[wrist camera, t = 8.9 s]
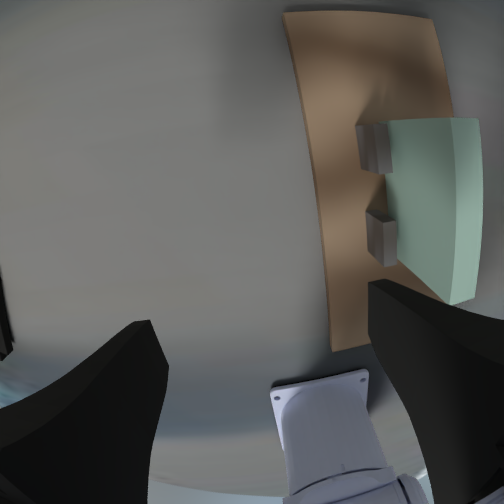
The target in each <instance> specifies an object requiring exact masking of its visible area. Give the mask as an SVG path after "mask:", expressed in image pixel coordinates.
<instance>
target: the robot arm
mask: <svg viewBox="0 0 504 504" xmlns="http://www.w3.org/2000/svg"><path fill="white" fill-rule="evenodd" d="M368 335H369V338H370V340H371V343H372V346H373V348H374V351H375V353H376V355H377V358H378V359H379V361H380V363H381V365H382V367H383V368H384V370H385V372H386V374H387V375H388V377H389V379H390V381H391V382H392V384H393V386H394V388H395V390H396V391H397V393H398V395H399V397H400V399H401V400H402V402H403V404H404V406H405V408H406V410H407V412H408V414H409V417H410V420H411V422H412V425H413V428H414V430H415V433H416V436H417V438H418V442H419V445H420V448H421V451H422V454H423V457H424V460H425V464H426V468H427V472H428V476H429V480H430V484H431V488H432V493H433V498H434V504H504V320H500V319H496V318H491V317H487V316H483V315H480V314H476V313H472V312H469V311H466V310H463V309H460V308H457V307H454V306H452V305H449V304H446V303H443V302H441V301H438V300H436V299H434V298H431V297H429V296H426V295H424V294H422V293H420V292H417V291H415V290H413V289H410V288H408V287H406V286H404V285H401V284H399V283H396V282H394V281H391V280H388V279H385V278H384V279H380V280H375V281H371V282H368ZM168 371H169V365H168V363H167V360H166V358H165V356H164V353H163V351H162V348H161V346H160V344H159V341H158V339H157V336H156V334H155V331H154V329H153V326H152V324H151V321H150V320H143V321H134V322H133V323H131V324H129V325H128V326H126V327H125V328H124V329H122V330H121V331H120V332H119V333H117V334H116V335H115V336H114V337H113V338H111V339H110V340H109V341H108V342H106V343H105V344H104V345H103V346H102V347H100V348H99V349H98V350H97V351H96V352H94V353H93V354H92V355H91V356H89V357H88V358H87V359H85V360H84V361H83V362H82V363H80V364H79V365H78V366H76V367H75V368H74V369H72V370H71V371H70V372H68V373H67V374H65V375H64V376H63V377H61V378H60V379H58V380H56V381H55V382H53V383H52V384H50V385H49V386H47V387H45V388H43V389H42V390H40V391H38V392H36V393H34V394H32V395H30V396H28V397H26V398H24V399H22V400H20V401H18V402H16V403H13V404H11V405H9V406H6V407H3V408H1V409H0V504H147V496H148V493H147V492H148V476H149V466H150V457H151V450H152V445H153V440H154V437H155V433H156V429H157V425H158V421H159V417H160V413H161V410H162V406H163V402H164V398H165V394H166V389H167V381H168ZM362 378H363V379H362ZM368 380H369V372H368V370H367V369H360V370H356V371H352V372H348V373H344V374H340V375H335V376H331V377H326V378H322V379H317V380H312V381H307V382H302V383H296V384H291V385H285V386H279V387H274V388H272V389H271V390H270V397H271V401H272V405H273V410H274V414H275V419H276V423H277V427H278V432H279V436H280V440H281V444H282V449H283V450H284V453H285V462H286V470H287V479H288V488H289V497H285V498H283V504H429V503H428V501H427V498H426V495H425V493H424V491H423V489H422V487H421V485H420V483H419V482H418V480H417V479H416V478H414V477H412V476H409V475H407V474H402V475H399V476H397V477H396V474H395V472H394V469H393V466H389V467H388V464H387V462H386V459H385V456H384V454H383V451H382V448H381V445H380V443H379V440H378V438H377V435H376V432H375V430H374V427H373V424H372V422H371V419H370V417H369V414H368V412H367V409H366V403H367V392H368ZM276 396H279V397H276Z"/></svg>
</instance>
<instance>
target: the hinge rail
mask: <svg viewBox="0 0 504 504" xmlns="http://www.w3.org/2000/svg"><path fill="white" fill-rule="evenodd" d="M282 20H283V24H284V28H285V32H286V37H287V41H288V45H289V50H290V54H291V58H292V63H293V68H294V72H295V77H296V82H297V87H298V92H299V97H300V102H301V107H302V113H303V118H304V124H305V129H306V135H307V141H308V147H309V153H310V160H311V166H312V173H313V179H314V186H315V194H316V201H317V209H318V216H319V225H320V233H321V242H322V251H323V261H324V271H325V282H326V293H327V306H328V320H329V335H330V347H331V349H332V352H336V351H340V350H345V349H349V348H353V347H357V346H361V345H365V344H369V343H371V340H370V338H369V335H368V282H371V281H375V280H380V279H384V278H385V279H388V280H391V281H394V282H396V283H399V284H401V285H404V286H406V287H408V288H410V289H413V290H415V291H417V292H420V293H422V294H424V295H426V296H429V297H431V298H434V299H436V300H438V301H441V302H443V303H445V302H444V301H443V300H442V299H441V298H440V297H439V296H438V295H437V294H436V293H435V292H434V291H433V290H432V289H430V288H429V287H428V286H427V285H426V284H425V283H424V282H423V281H422V280H421V279H420V278H418V277H417V276H416V275H415V274H414V273H413V272H412V271H411V270H410V269H408V268H407V267H406V266H405V265H404V264H403V263H402V262H401V261H399V260H398V259H397V226H396V220H394V219H393V218H391V217H389V216H388V204H387V190H386V179H385V174H387V173H393V166H392V157H391V148H390V140H389V132H388V125H387V123H383V124H379V122H380V121H392V120H405V119H422V118H454V116H453V109H452V103H451V97H450V91H449V86H448V80H447V75H446V71H445V66H444V62H443V57H442V53H441V49H440V45H439V42H438V38H437V34H436V31H435V28H434V24H433V21H432V19H427V18H421V17H415V16H408V15H400V14H391V13H380V12H365V11H301V12H286V13H283V16H282Z"/></svg>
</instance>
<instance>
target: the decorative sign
mask: <svg viewBox="0 0 504 504" xmlns="http://www.w3.org/2000/svg"><path fill="white" fill-rule="evenodd" d="M12 351H13V346H12V342H11V338H10V333H9V328H8V323H7V318H6V313H5V307H4V301H3V294H2V287H1V279H0V361H3V360H4V359H5V358H6V356H7V355H9V354H10V353H11V352H12Z"/></svg>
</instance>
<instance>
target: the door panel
mask: <svg viewBox="0 0 504 504" xmlns="http://www.w3.org/2000/svg"><path fill="white" fill-rule="evenodd" d="M383 123H387V125H388V132H389V140H390V148H391V157H392V166H393V173H387V174H385V179H386V190H387V204H388V216H389V217H391V218H393V219H394V220H396V226H397V259H398V260H399V261H401V262H402V263H403V264H404V265H405V266H406V267H407V268H408V269H410V270H411V271H412V272H413V273H414V274H415V275H416V276H417V277H418V278H420V279H421V280H422V281H423V282H424V283H425V284H426V285H427V286H428V287H429V288H430V289H432V290H433V291H434V292H435V293H436V294H437V295H438V296H439V297H440V298H441V299H442V300H443V301H444V302H445V303H446V304H449V305H454V304H457V303H460V302H463V301H466V300H469V299H472V298H474V296H475V290H476V283H477V276H478V268H479V259H480V249H481V237H482V219H483V168H482V150H481V138H480V128H479V119H478V118H422V119H405V120H392V121H380V122H379V124H383Z"/></svg>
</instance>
